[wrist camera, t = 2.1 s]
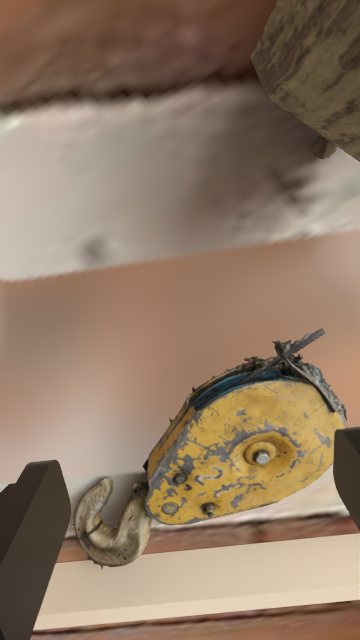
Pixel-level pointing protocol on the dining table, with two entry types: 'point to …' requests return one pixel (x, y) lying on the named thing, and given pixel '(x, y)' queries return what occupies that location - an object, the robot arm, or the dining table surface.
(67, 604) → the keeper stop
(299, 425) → the pulley block
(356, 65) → the tabletop clock
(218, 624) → the dining table surface
